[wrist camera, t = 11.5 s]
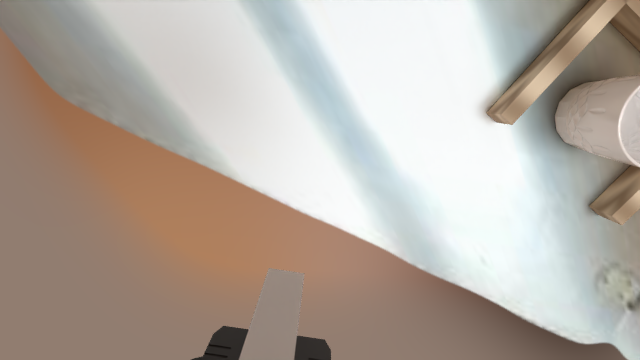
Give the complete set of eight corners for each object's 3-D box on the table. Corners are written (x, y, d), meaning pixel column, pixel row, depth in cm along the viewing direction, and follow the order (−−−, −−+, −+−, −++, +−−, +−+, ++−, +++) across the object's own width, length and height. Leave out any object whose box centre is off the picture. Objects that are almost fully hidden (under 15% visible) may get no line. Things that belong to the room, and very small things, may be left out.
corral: (598, 214, 43) (622, 225, 39) (486, 113, 41) (500, 114, 37) (714, 103, 40) (750, 103, 37) (600, -12, 38) (627, -23, 35)
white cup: (611, 62, 40) (705, 51, 30) (636, 132, 41) (733, 144, 31) (536, 98, 40) (604, 99, 31) (563, 166, 42) (635, 188, 32)
